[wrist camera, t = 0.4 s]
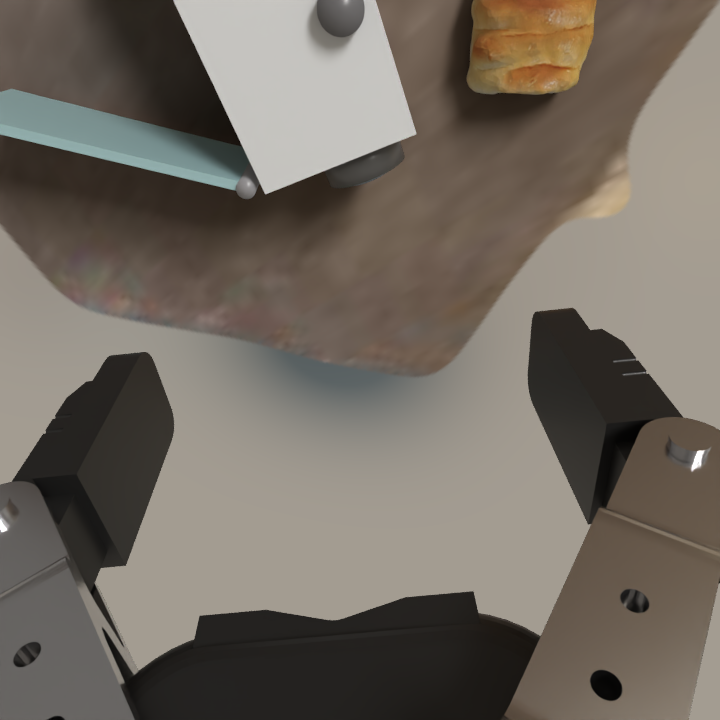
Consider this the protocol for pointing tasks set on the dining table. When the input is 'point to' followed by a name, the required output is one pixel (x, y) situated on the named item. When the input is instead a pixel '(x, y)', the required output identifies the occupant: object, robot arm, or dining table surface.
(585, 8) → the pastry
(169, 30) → the dining table surface
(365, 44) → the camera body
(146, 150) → the door
